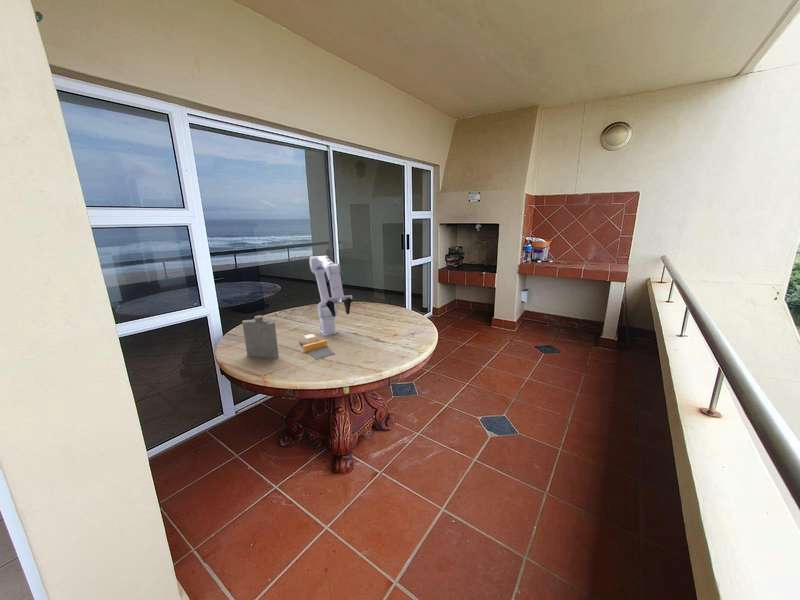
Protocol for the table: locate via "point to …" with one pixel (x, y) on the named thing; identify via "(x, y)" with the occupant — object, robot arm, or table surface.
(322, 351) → the slate mat
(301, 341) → the walnut channel
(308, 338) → the white block
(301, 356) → the table surface
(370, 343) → the table surface
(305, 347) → the orange bar
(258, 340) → the hip flask
